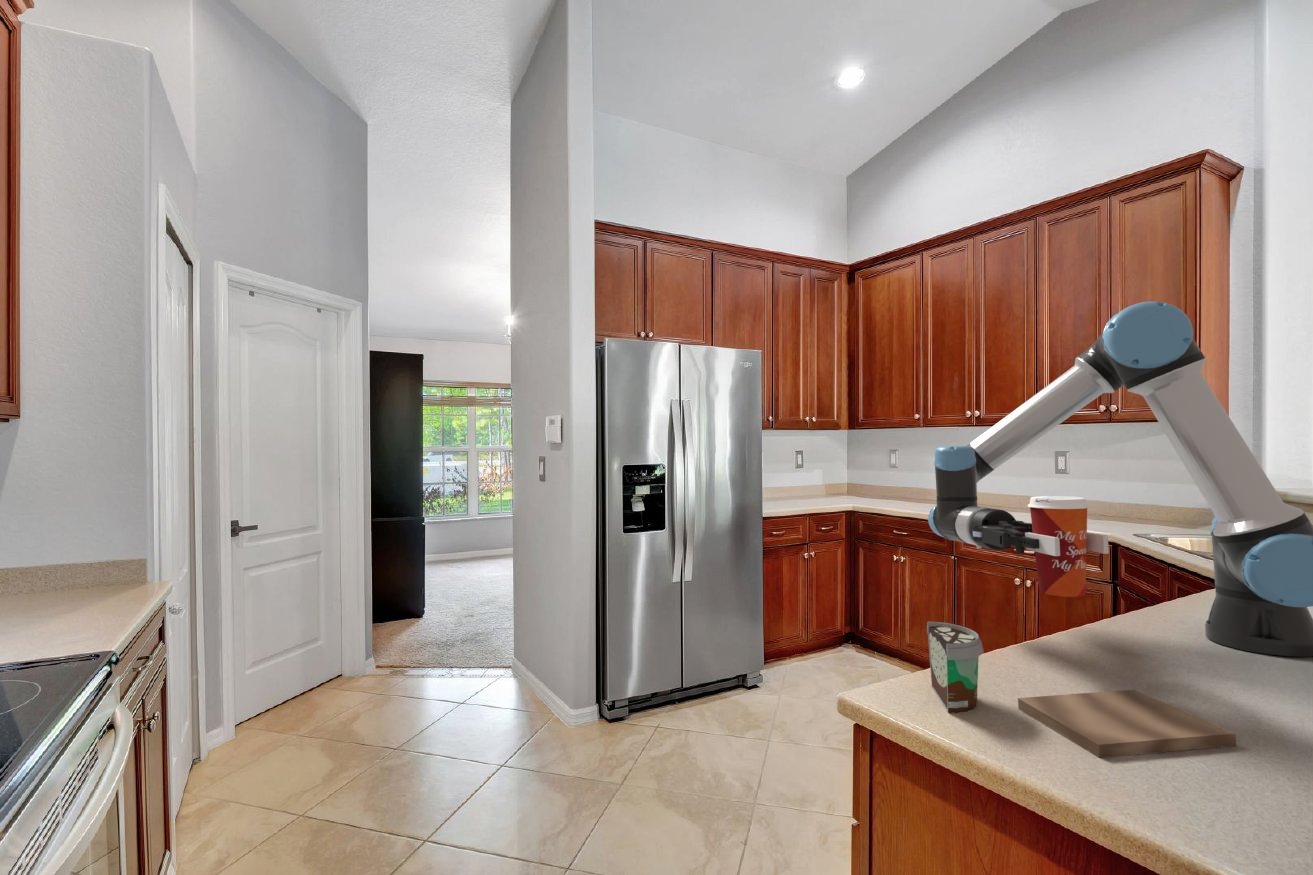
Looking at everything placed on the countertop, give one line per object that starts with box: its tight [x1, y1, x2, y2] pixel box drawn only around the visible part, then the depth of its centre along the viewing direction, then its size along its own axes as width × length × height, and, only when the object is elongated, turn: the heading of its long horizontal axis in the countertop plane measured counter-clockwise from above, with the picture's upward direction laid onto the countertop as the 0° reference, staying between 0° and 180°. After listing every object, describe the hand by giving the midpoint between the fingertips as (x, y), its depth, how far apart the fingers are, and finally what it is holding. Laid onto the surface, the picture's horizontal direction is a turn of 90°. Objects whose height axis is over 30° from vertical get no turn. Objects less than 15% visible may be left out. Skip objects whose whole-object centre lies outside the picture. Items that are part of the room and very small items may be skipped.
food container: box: [926, 621, 985, 714], centre depth 89 cm, size 12×6×10 cm, turn 168°
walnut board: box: [1017, 689, 1237, 758], centre depth 80 cm, size 18×14×2 cm
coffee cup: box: [1027, 495, 1091, 598], centre depth 95 cm, size 8×8×15 cm
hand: (1081, 545), depth 91 cm, fingers closed on coffee cup, 7 cm apart
